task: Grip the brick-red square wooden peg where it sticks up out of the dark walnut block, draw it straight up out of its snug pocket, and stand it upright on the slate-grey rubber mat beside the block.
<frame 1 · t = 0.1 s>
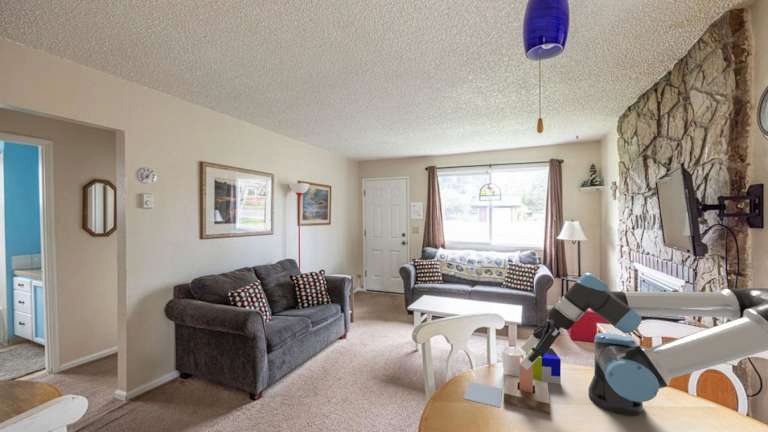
hand: (523, 358, 107), 15 cm above the table, tool tilted 35°, fingers open, 13 cm apart
mat: (483, 395, 111), on the table
white cup: (512, 376, 125), on the table
puzzle toy: (542, 377, 124), on the table
pocket block: (526, 398, 109), on the table
peg: (526, 397, 109), resting on pocket block
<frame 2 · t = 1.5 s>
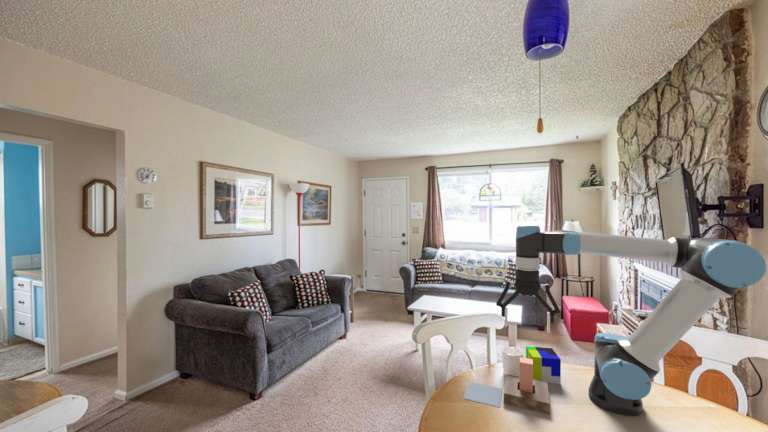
hand: (526, 329, 109), 25 cm above the table, tool pointing down, fingers open, 13 cm apart
nothing on the table moved.
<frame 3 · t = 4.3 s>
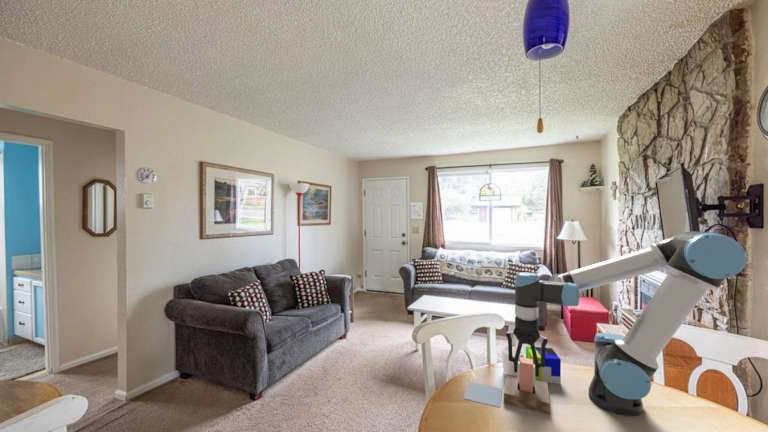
hand: (526, 382, 109), 6 cm above the table, tool pointing down, fingers closed on peg, 4 cm apart
peg: (526, 397, 109), resting on pocket block, touching gripper
everything else where it was.
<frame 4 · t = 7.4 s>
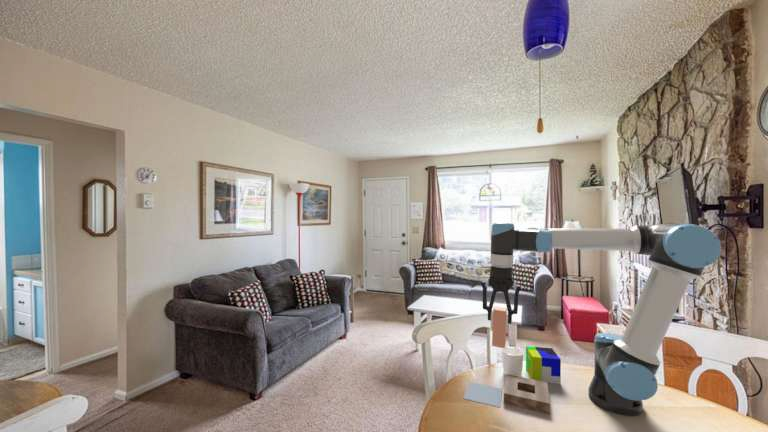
hand: (499, 330, 111), 24 cm above the table, tool pointing down, fingers closed on peg, 4 cm apart
peg: (498, 344, 111), point 18 cm above the table, touching gripper
everything else where it was.
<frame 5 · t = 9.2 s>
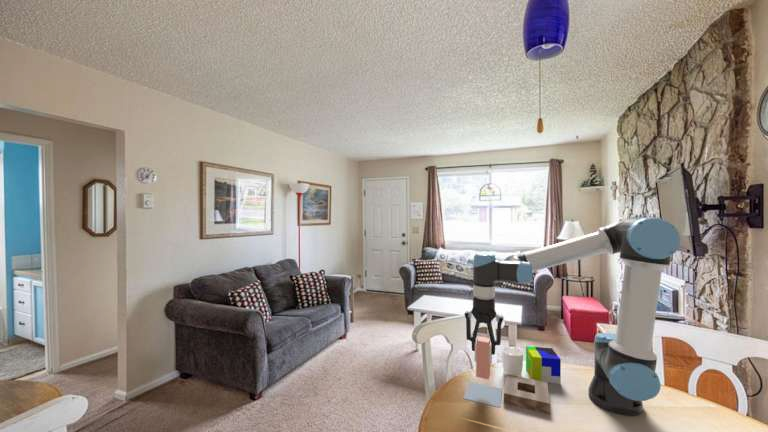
hand: (483, 361, 111), 12 cm above the table, tool pointing down, fingers closed on peg, 4 cm apart
peg: (483, 375, 111), point 7 cm above the table, touching gripper
everything else where it was.
when the fingers open (7 cm above the table, at t = 10.5 s): peg drops 1 cm, resting on mat.
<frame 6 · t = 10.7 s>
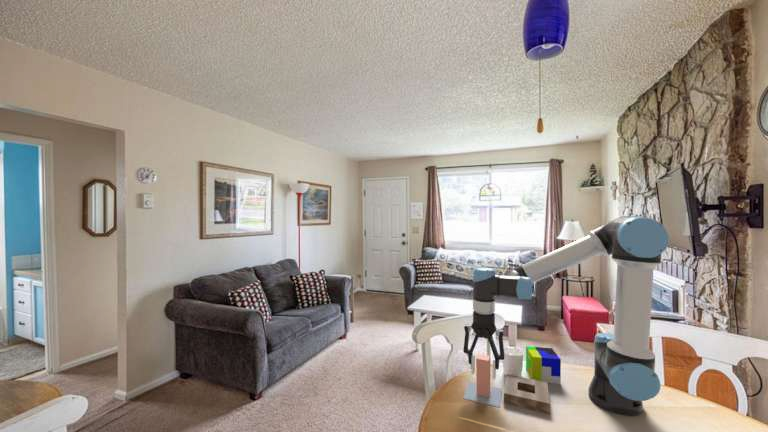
hand: (483, 374, 111), 7 cm above the table, tool pointing down, fingers open, 7 cm apart
peg: (483, 393, 111), point 1 cm above the table, touching mat
everything else where it was.
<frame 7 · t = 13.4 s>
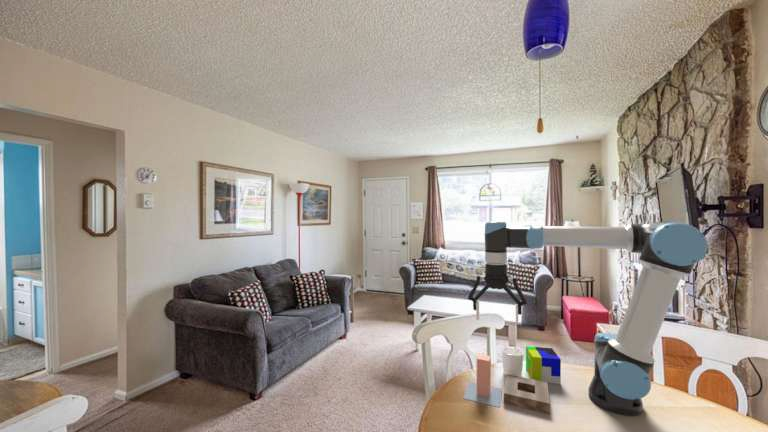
hand: (497, 321, 114), 26 cm above the table, tool pointing down, fingers open, 13 cm apart
nothing on the table moved.
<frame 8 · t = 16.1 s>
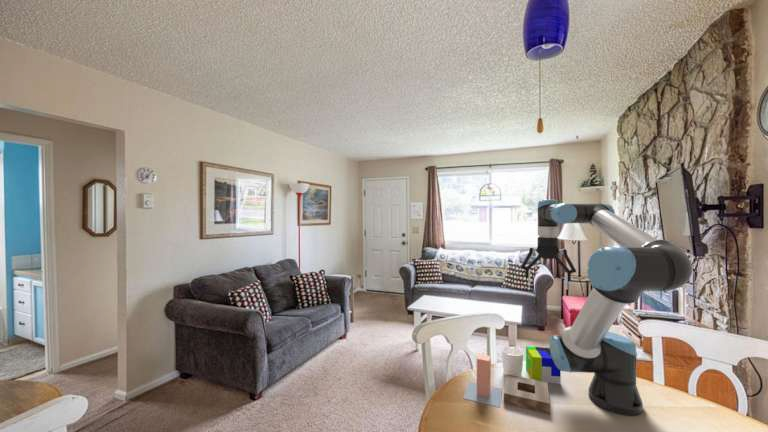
hand: (547, 287, 129), 35 cm above the table, tool pointing down, fingers open, 13 cm apart
nothing on the table moved.
at the end: peg inside the target area on the mat (0.1 cm from its centre), point 0.6 cm above the mat's base; peg tilted 0°; the gripper is holding nothing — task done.
